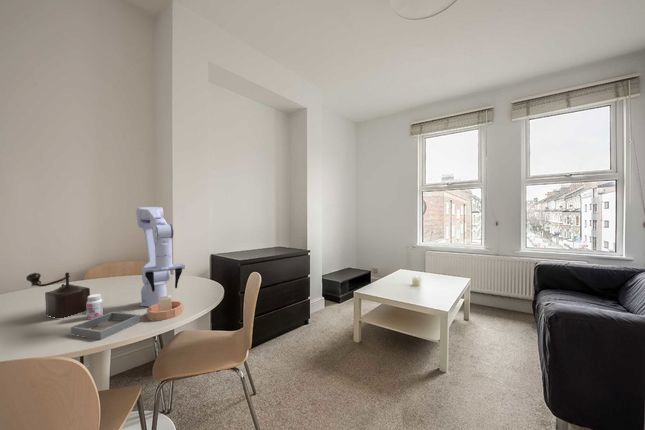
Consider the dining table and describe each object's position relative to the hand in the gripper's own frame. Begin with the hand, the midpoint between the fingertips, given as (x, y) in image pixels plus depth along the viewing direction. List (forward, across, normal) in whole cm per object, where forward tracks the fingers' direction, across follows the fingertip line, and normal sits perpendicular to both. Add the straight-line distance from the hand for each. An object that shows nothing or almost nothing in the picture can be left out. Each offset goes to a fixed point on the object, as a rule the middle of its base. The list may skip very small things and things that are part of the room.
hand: (165, 289), depth 105 cm
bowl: (+10, 0, 0) cm, 10 cm away
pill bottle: (+10, -24, +11) cm, 28 cm away
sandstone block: (+9, 0, 0) cm, 9 cm away
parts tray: (+10, -18, -4) cm, 21 cm away
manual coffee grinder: (+10, -37, +21) cm, 44 cm away
